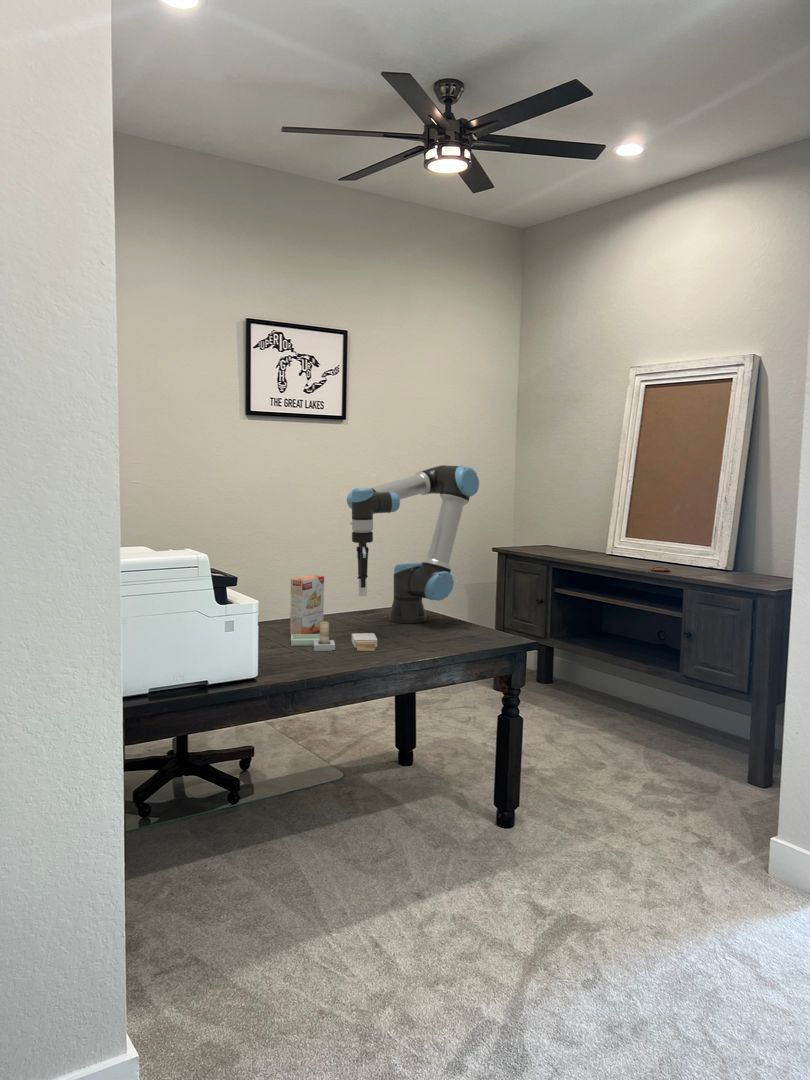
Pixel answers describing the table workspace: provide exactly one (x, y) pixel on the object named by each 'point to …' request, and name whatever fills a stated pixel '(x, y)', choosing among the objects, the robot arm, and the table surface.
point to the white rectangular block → (363, 638)
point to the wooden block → (365, 645)
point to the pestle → (324, 632)
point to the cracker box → (306, 604)
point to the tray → (304, 639)
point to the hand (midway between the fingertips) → (362, 595)
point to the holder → (324, 646)
